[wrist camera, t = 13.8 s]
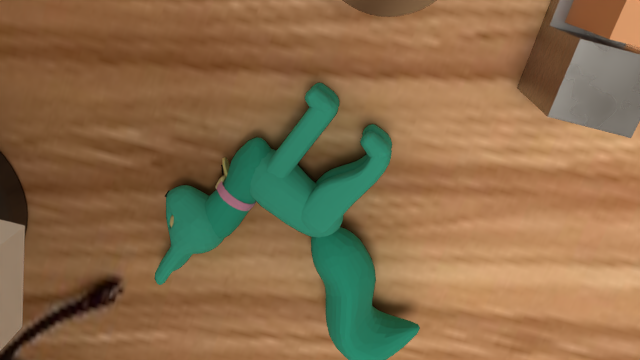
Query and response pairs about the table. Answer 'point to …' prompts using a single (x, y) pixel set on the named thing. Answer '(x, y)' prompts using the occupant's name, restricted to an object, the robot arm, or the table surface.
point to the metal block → (582, 76)
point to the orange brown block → (608, 19)
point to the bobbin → (389, 6)
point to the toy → (300, 222)
